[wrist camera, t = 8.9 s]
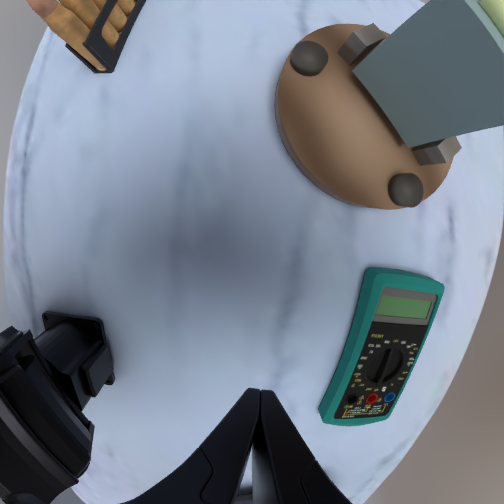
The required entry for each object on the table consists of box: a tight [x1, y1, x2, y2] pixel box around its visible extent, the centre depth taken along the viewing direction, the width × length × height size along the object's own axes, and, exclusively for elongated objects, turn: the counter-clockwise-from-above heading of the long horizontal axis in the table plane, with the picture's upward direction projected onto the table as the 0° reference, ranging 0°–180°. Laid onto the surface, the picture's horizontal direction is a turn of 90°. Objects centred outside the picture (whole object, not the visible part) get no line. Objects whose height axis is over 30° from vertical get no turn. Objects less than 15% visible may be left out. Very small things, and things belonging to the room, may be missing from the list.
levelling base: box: [275, 23, 461, 210], centre depth 15 cm, size 14×14×6 cm
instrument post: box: [352, 0, 504, 148], centre depth 9 cm, size 4×6×11 cm, turn 38°
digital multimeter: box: [319, 267, 445, 426], centre depth 21 cm, size 7×15×3 cm, turn 170°
